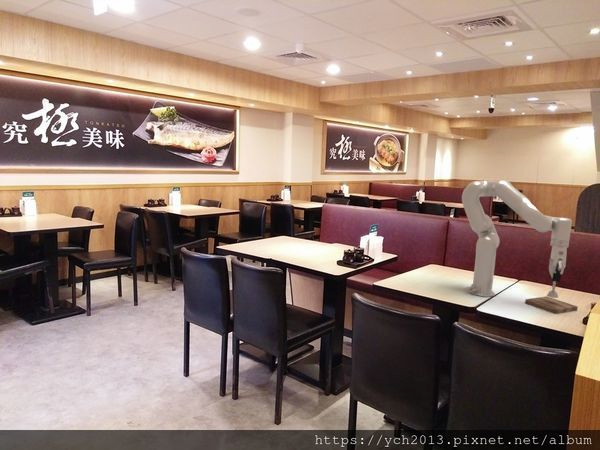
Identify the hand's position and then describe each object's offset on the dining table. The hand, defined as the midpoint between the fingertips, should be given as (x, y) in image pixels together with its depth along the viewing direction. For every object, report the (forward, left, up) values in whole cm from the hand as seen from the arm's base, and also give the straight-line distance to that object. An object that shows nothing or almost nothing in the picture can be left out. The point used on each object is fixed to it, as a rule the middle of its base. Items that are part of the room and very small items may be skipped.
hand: (554, 279), depth 207 cm
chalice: (0, 0, -9) cm, 9 cm away
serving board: (0, 0, -14) cm, 14 cm away
